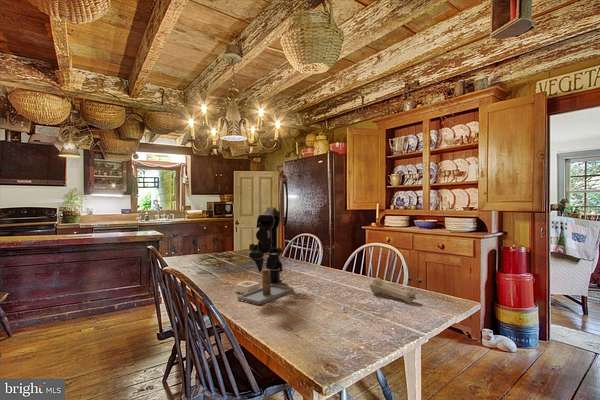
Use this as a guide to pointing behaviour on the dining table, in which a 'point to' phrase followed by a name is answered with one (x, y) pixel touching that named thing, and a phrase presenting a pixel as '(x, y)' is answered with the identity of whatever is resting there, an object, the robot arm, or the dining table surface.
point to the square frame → (247, 286)
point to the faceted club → (391, 290)
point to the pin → (266, 282)
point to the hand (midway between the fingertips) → (266, 270)
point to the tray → (259, 298)
